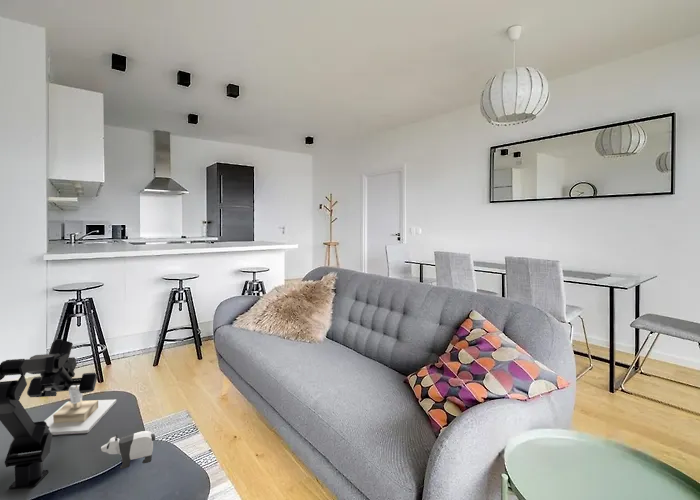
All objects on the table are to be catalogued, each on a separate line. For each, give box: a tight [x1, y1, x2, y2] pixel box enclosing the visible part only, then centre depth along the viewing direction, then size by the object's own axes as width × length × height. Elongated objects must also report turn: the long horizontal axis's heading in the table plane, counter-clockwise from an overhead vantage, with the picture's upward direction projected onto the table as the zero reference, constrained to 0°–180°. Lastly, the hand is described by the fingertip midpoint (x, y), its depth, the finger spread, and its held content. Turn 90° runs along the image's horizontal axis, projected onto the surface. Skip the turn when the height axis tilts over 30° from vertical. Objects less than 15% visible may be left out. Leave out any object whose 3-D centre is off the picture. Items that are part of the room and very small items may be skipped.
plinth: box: [53, 399, 99, 423], centre depth 137 cm, size 10×10×3 cm
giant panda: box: [99, 430, 156, 470], centre depth 113 cm, size 15×6×10 cm, turn 117°
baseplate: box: [43, 399, 117, 436], centre depth 137 cm, size 22×18×1 cm
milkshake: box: [68, 385, 84, 409], centre depth 136 cm, size 4×5×10 cm
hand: (71, 393), depth 131 cm, fingers open, 9 cm apart
